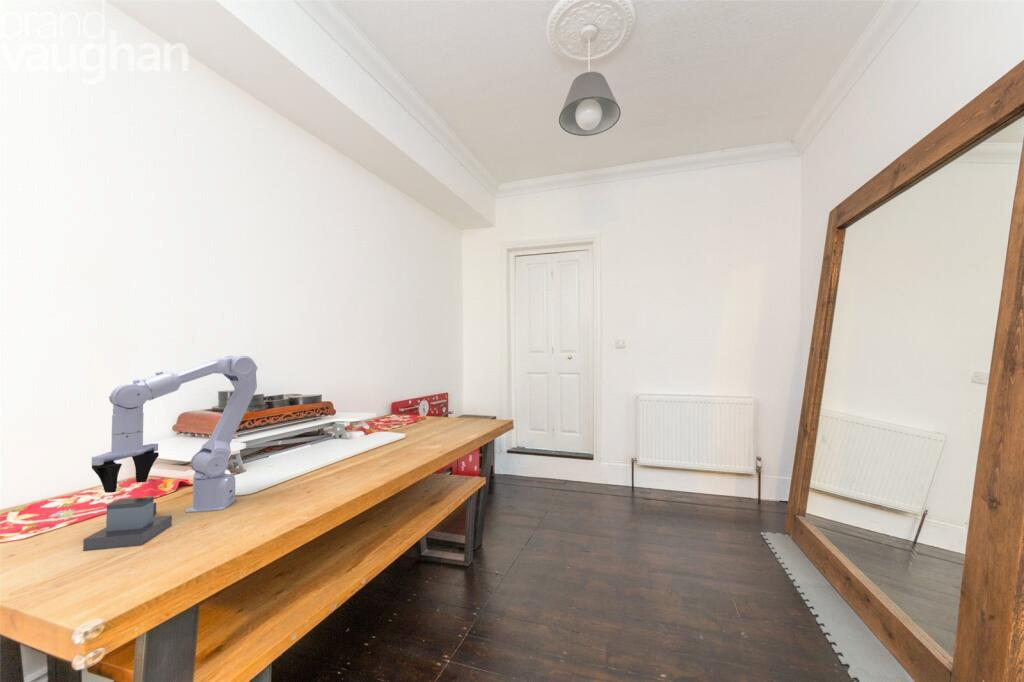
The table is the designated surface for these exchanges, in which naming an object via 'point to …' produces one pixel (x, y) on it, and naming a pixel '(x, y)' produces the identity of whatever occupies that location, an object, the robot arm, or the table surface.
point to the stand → (127, 535)
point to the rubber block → (154, 509)
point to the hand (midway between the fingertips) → (126, 486)
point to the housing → (129, 514)
